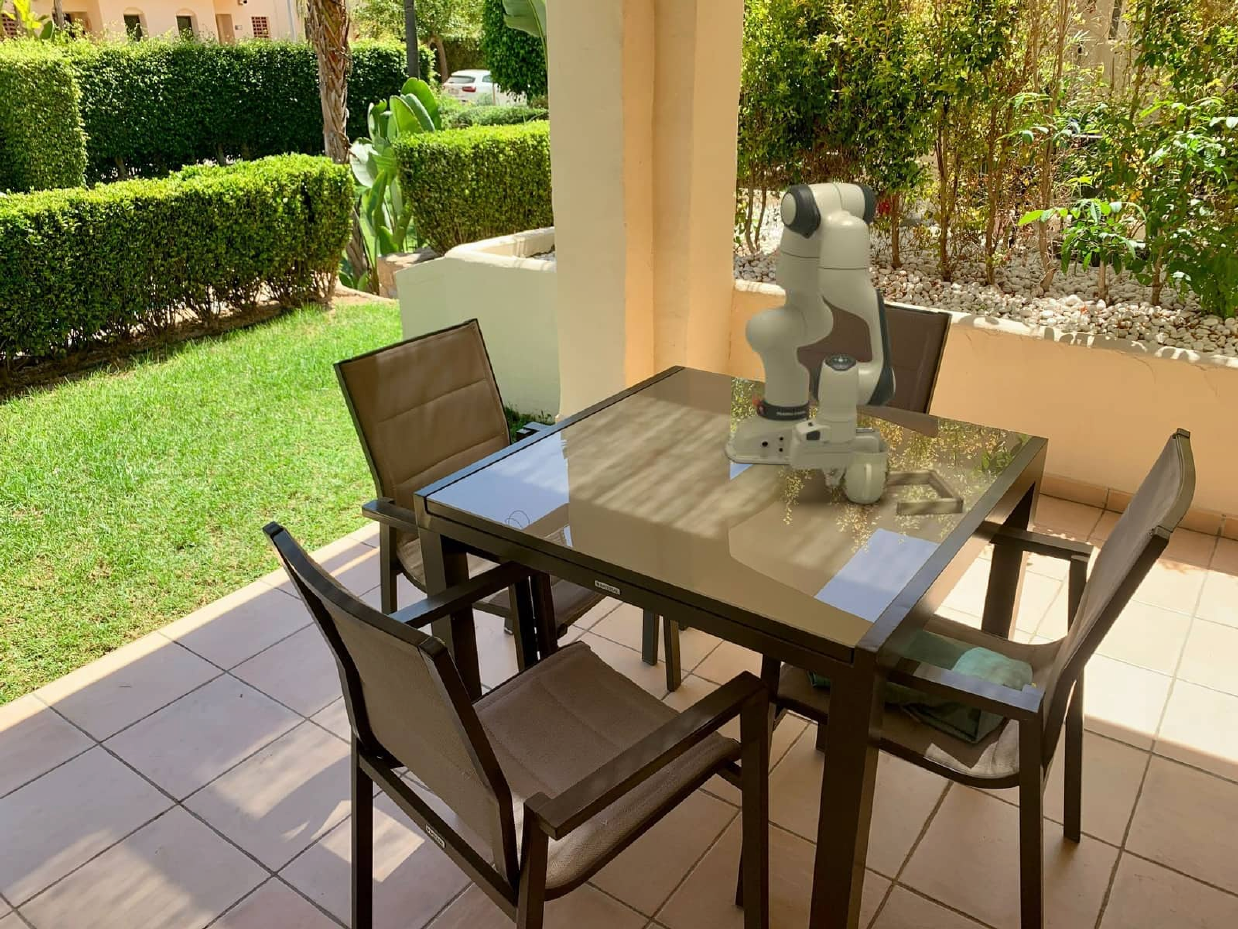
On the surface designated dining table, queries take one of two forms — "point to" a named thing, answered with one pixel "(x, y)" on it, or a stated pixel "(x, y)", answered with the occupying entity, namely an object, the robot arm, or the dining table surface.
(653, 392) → the dining table surface
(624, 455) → the dining table surface
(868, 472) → the pitcher
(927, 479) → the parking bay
